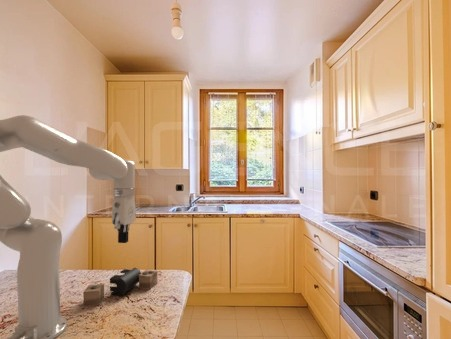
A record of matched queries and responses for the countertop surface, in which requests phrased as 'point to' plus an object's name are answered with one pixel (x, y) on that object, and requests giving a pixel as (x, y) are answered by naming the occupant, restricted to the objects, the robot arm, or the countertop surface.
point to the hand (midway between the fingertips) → (123, 242)
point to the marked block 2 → (148, 279)
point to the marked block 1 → (93, 295)
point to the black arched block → (124, 281)
